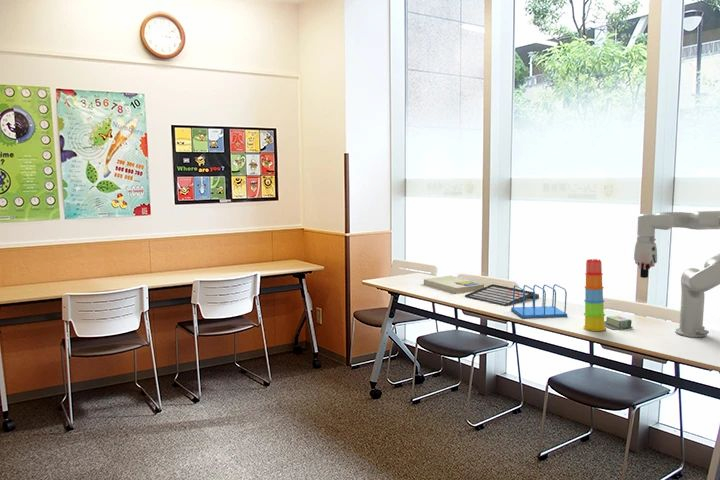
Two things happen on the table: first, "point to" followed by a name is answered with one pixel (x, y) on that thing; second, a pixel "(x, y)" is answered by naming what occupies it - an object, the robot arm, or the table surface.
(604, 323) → the mat
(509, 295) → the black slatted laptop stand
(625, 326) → the ink box
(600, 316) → the stacking cups
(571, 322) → the table surface
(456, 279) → the puzzle box
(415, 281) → the table surface
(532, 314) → the file sorter
